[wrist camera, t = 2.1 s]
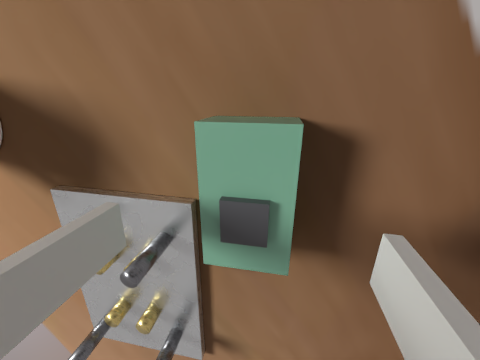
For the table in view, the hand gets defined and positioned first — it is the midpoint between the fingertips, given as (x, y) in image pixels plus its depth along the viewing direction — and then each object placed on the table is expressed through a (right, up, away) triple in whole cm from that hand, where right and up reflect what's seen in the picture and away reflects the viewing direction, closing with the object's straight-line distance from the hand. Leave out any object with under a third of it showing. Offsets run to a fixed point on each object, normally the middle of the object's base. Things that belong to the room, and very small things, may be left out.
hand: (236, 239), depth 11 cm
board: (+1, +3, +7) cm, 8 cm away
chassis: (-11, -7, +13) cm, 18 cm away
